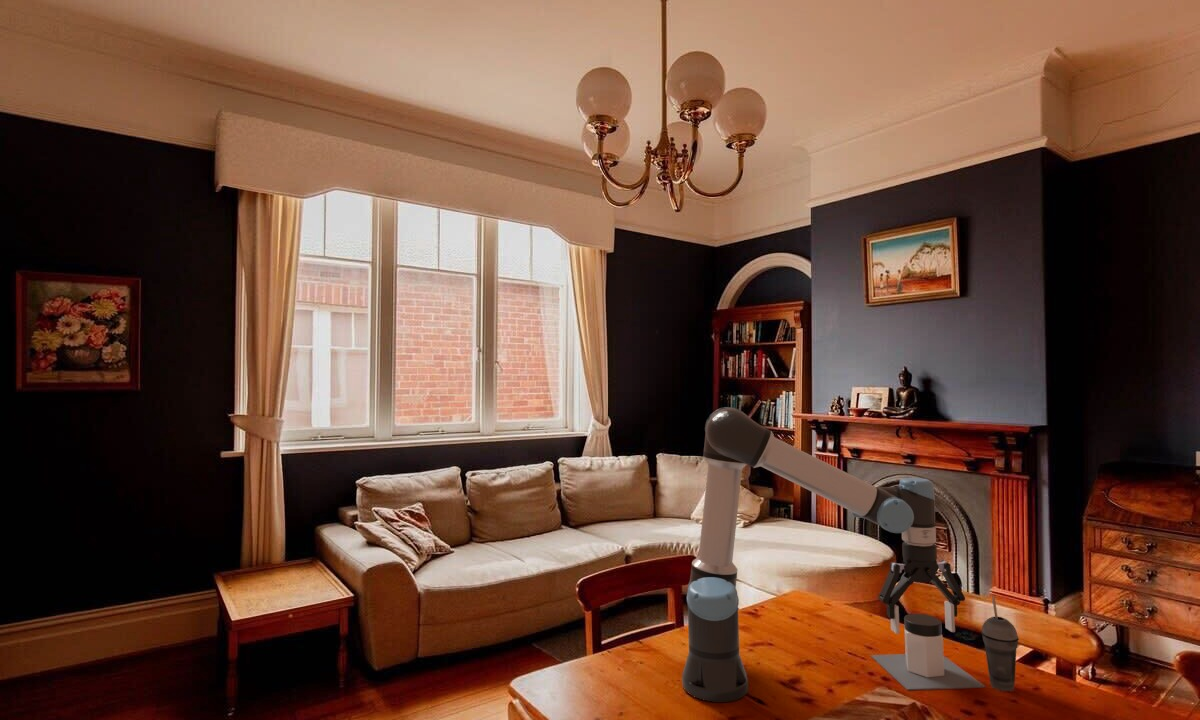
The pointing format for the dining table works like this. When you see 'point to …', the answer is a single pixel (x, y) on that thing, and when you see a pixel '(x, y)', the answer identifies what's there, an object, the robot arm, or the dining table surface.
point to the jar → (924, 645)
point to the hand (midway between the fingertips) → (922, 631)
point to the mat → (912, 681)
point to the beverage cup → (1000, 651)
